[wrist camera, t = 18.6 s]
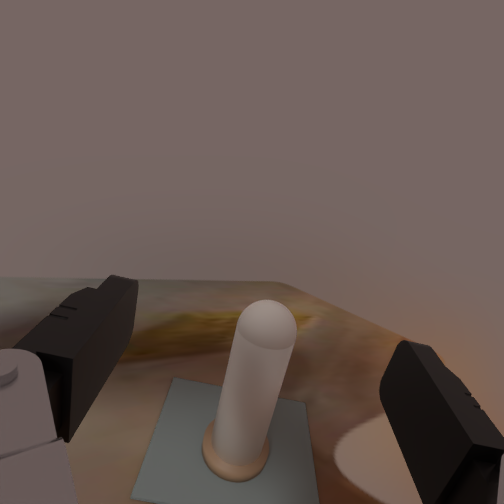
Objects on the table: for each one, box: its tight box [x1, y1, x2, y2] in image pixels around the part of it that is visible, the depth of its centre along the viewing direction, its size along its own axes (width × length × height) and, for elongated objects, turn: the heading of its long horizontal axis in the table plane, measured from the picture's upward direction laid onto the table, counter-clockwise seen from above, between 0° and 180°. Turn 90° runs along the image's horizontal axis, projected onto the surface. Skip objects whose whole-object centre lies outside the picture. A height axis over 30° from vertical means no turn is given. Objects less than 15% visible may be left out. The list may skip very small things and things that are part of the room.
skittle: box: [202, 300, 297, 483], centre depth 31 cm, size 6×6×16 cm
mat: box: [130, 377, 320, 504], centre depth 35 cm, size 16×14×1 cm
